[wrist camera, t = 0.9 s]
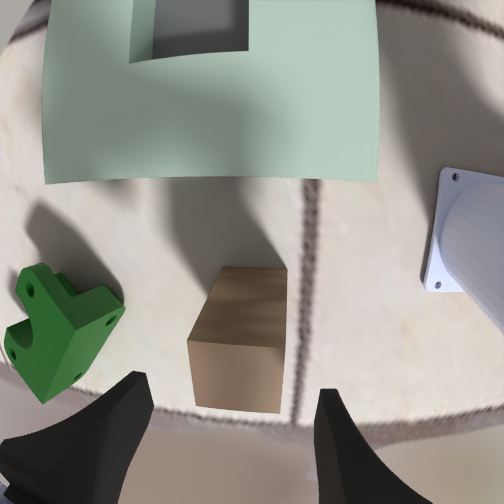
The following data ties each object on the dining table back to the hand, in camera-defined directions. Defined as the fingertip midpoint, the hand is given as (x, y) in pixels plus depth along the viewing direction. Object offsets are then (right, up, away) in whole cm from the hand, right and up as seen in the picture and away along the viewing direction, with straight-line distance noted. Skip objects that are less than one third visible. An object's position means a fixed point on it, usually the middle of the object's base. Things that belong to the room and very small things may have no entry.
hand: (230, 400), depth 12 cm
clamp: (-14, +1, +11) cm, 18 cm away
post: (+1, +3, +9) cm, 9 cm away
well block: (-2, +19, +3) cm, 20 cm away
